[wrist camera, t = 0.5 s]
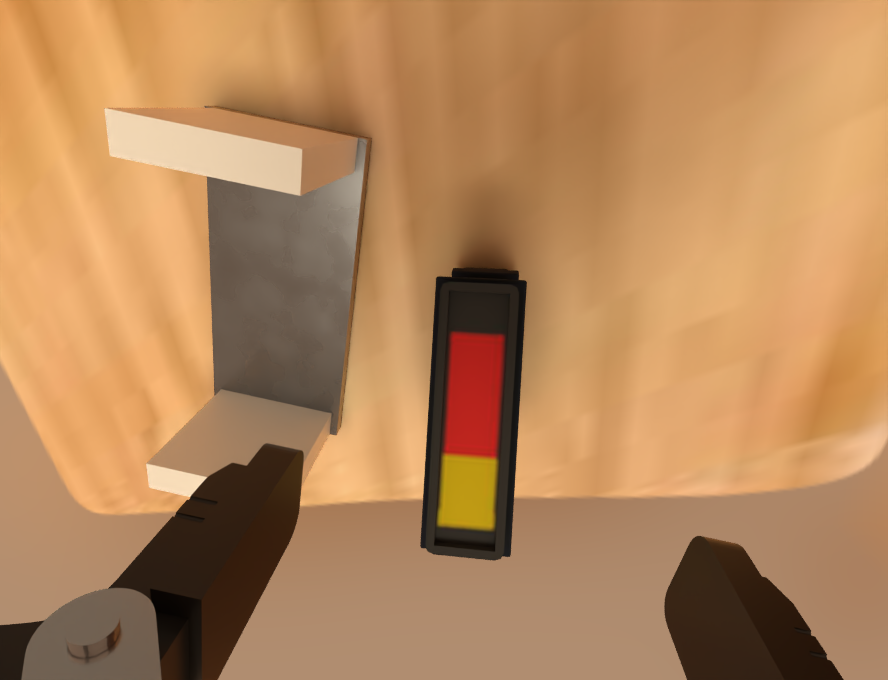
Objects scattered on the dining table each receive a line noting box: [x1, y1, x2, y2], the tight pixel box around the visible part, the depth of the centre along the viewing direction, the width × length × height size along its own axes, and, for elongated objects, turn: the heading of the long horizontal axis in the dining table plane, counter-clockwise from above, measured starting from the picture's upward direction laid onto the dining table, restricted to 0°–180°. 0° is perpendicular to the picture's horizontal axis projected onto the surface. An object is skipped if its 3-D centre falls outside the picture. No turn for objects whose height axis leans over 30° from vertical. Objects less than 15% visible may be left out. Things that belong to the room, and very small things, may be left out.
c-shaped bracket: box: [104, 108, 358, 497], centre depth 27 cm, size 20×8×8 cm, turn 170°
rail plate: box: [205, 106, 371, 435], centre depth 31 cm, size 20×9×1 cm, turn 170°
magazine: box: [420, 268, 527, 560], centre depth 26 cm, size 4×13×15 cm, turn 179°
